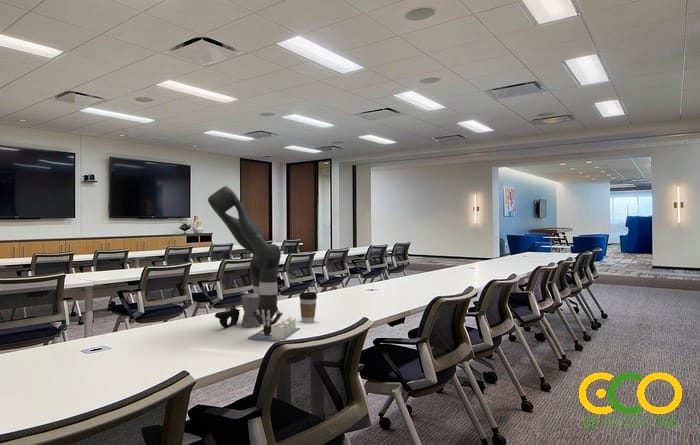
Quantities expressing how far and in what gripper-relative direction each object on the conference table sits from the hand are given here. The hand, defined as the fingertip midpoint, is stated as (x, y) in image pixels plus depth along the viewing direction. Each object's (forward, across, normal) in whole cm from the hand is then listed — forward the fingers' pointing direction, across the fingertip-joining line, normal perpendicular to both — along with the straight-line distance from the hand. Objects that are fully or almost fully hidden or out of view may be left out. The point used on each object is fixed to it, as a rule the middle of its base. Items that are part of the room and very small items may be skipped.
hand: (267, 334), depth 183 cm
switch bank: (+2, +1, +7) cm, 7 cm away
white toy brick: (+1, +5, 0) cm, 5 cm away
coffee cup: (+3, +6, +33) cm, 33 cm away
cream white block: (+1, +5, +7) cm, 8 cm away
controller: (+3, -26, +14) cm, 29 cm away
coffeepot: (+3, -16, +18) cm, 24 cm away
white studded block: (+1, +5, +13) cm, 14 cm away
